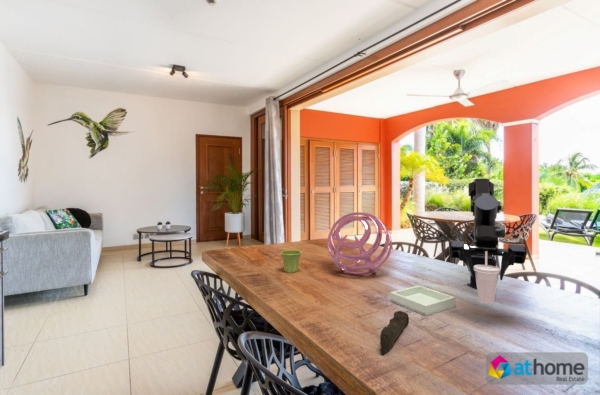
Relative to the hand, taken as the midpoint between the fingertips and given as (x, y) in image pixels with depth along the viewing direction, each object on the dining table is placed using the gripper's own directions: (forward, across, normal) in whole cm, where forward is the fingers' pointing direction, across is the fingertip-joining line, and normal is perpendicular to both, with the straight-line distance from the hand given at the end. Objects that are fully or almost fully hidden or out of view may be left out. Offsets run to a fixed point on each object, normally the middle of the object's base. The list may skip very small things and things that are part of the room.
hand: (486, 277), depth 85 cm
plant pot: (-8, -75, +27) cm, 80 cm away
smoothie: (+4, 0, +6) cm, 7 cm away
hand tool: (+23, -21, -4) cm, 31 cm away
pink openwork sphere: (-15, -47, +34) cm, 61 cm away
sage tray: (+3, -18, +15) cm, 24 cm away
